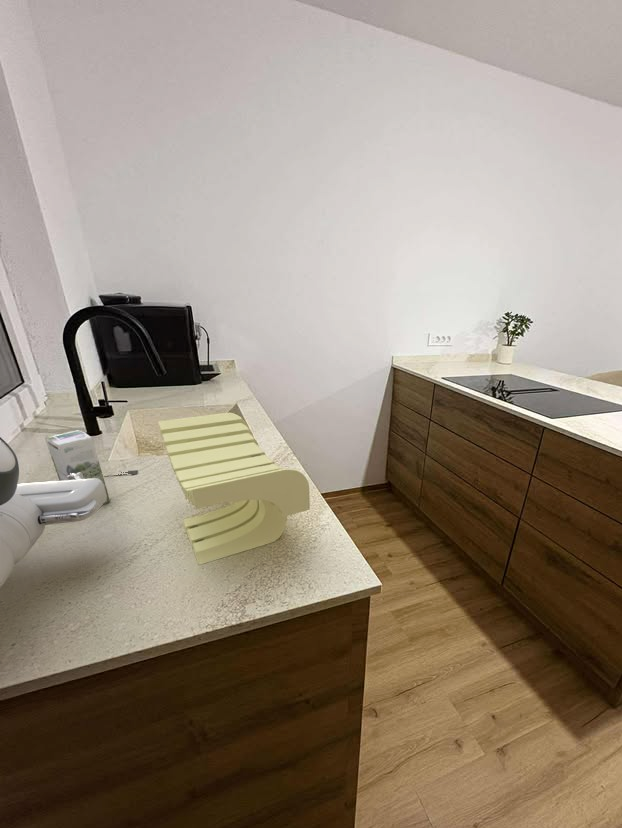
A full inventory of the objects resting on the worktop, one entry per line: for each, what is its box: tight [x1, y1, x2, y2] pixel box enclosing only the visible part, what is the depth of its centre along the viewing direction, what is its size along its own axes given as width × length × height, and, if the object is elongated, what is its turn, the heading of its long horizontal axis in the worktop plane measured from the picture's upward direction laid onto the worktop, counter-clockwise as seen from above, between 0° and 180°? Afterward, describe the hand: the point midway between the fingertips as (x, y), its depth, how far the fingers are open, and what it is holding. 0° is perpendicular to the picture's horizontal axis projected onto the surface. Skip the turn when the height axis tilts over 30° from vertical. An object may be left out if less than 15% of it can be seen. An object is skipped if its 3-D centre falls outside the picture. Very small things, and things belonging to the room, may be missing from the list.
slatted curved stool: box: [157, 412, 311, 566], centre depth 67 cm, size 30×16×18 cm, turn 32°
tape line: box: [118, 469, 139, 476], centre depth 89 cm, size 12×2×1 cm, turn 106°
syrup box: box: [44, 429, 111, 505], centre depth 75 cm, size 6×6×14 cm
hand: (44, 479), depth 62 cm, fingers open, 8 cm apart
